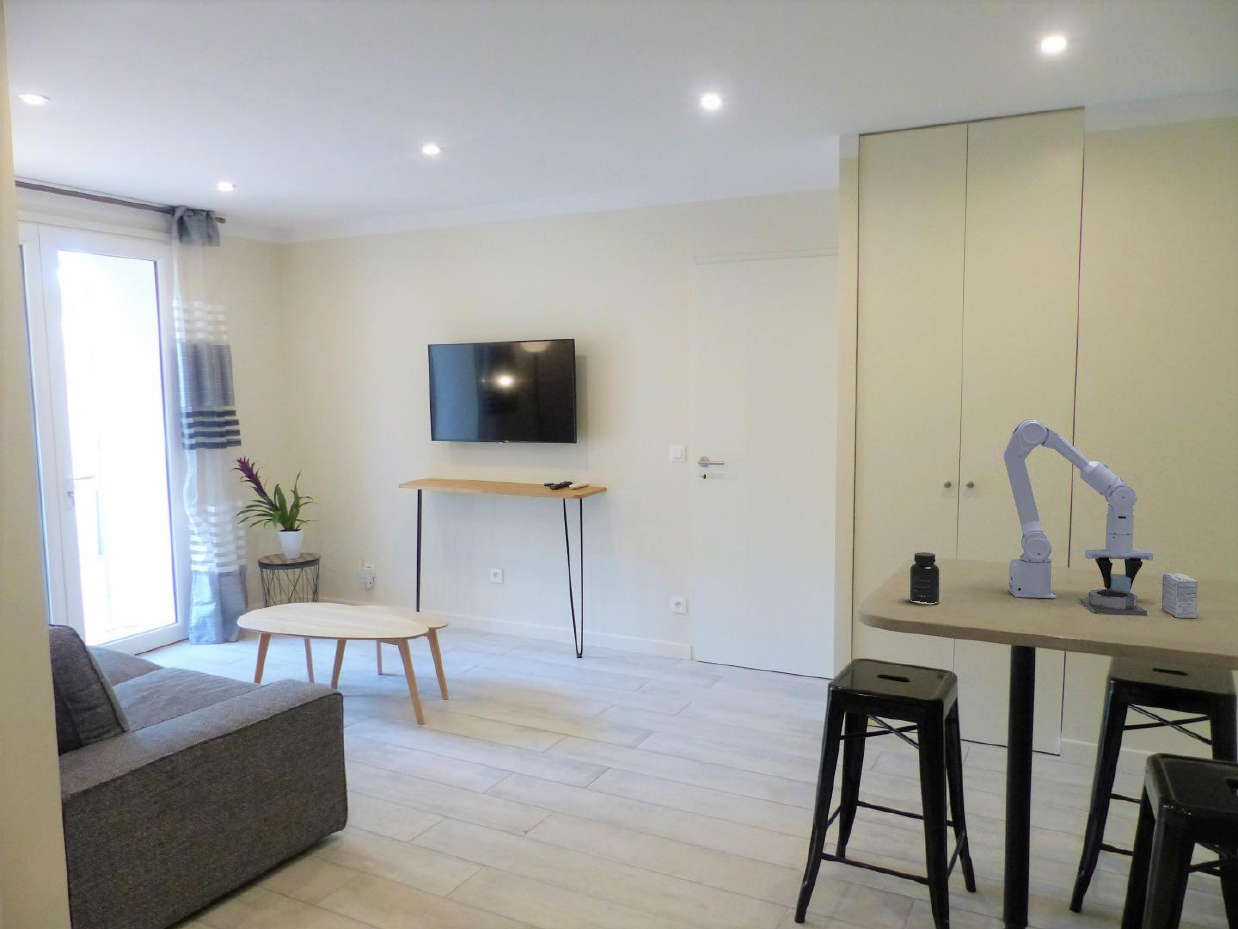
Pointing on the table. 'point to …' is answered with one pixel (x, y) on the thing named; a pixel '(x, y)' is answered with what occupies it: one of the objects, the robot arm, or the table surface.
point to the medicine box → (1179, 595)
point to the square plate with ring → (1112, 602)
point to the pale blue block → (1120, 582)
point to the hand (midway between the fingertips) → (1117, 588)
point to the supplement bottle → (924, 578)
